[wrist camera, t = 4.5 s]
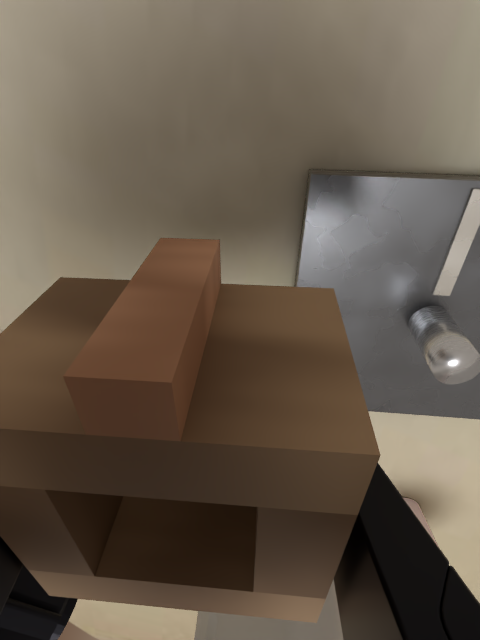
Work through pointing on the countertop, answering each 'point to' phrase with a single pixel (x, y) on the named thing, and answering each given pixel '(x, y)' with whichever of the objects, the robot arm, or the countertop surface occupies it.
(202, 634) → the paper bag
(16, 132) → the countertop surface
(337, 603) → the robot arm
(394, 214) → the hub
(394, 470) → the countertop surface
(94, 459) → the wooden cubby with handle
